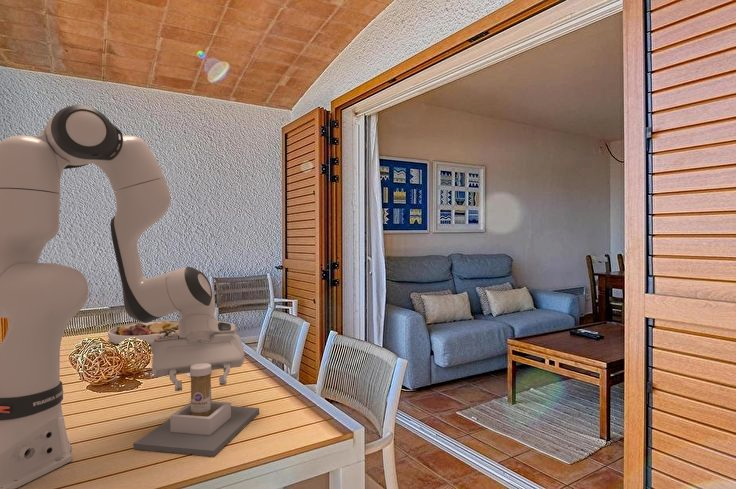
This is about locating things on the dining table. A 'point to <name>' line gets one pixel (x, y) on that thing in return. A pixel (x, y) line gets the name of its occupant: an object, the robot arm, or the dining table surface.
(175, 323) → the bowl
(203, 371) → the sprinkles bottle
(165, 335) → the cupcake
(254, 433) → the dining table surface
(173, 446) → the socket board
